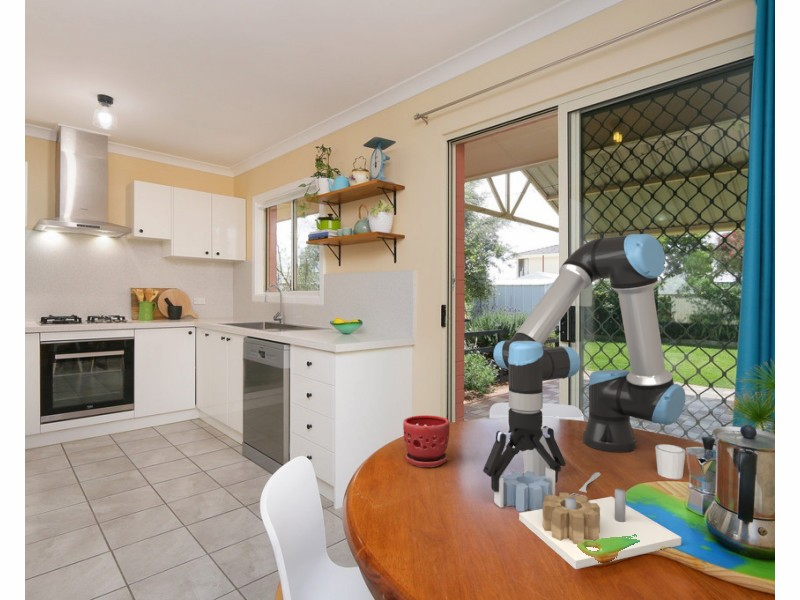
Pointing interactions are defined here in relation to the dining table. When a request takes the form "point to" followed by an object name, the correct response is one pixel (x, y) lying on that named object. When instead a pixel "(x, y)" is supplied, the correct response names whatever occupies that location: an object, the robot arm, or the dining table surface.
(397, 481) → the dining table surface
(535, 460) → the cup
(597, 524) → the gear
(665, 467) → the short white tumbler
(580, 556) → the gear board
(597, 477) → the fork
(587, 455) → the dining table surface
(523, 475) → the gear
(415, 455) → the plant pot
